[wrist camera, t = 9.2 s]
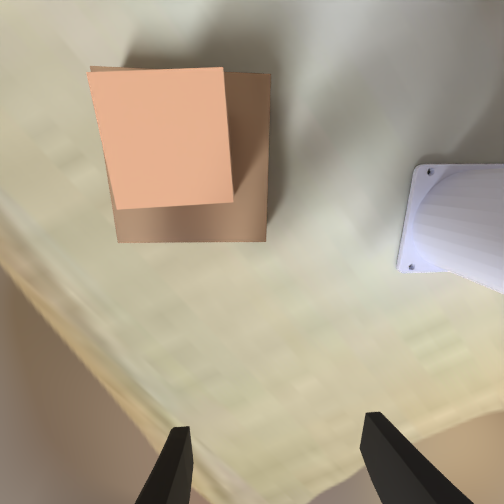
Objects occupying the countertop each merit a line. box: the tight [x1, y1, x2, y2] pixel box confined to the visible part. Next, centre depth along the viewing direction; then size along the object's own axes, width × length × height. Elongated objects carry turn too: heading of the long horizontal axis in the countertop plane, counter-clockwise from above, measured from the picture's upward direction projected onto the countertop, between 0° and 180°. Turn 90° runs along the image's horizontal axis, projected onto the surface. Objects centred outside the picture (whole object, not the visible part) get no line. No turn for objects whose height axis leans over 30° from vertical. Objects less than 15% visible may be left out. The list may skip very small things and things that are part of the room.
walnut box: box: [90, 66, 271, 243], centre depth 15 cm, size 9×9×3 cm
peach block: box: [86, 67, 235, 210], centre depth 11 cm, size 4×4×5 cm
